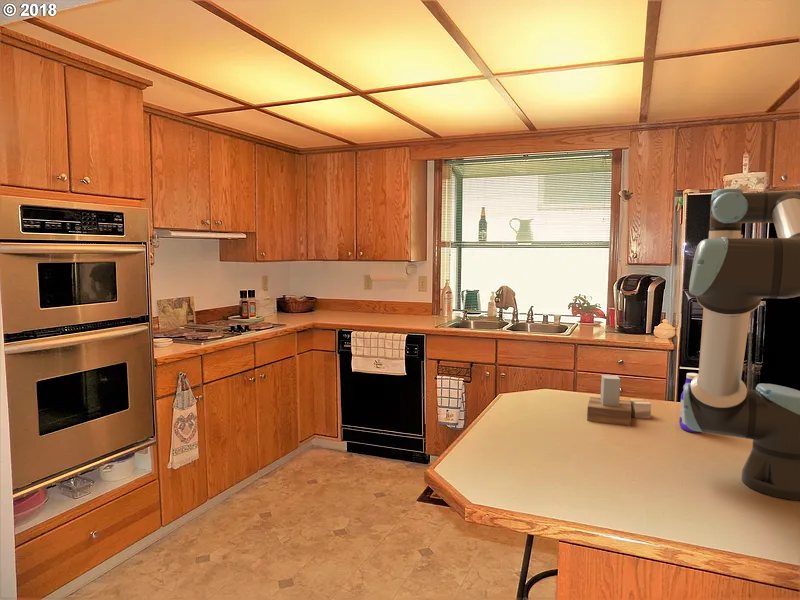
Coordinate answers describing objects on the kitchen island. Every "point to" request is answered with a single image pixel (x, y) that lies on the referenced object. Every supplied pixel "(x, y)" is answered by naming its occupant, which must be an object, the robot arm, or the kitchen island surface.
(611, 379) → the pale gray block
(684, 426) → the bottle
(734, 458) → the kitchen island surface
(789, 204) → the robot arm
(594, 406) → the walnut block
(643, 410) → the maple cube
